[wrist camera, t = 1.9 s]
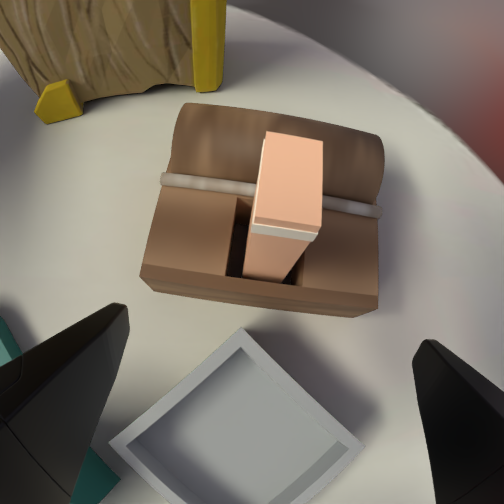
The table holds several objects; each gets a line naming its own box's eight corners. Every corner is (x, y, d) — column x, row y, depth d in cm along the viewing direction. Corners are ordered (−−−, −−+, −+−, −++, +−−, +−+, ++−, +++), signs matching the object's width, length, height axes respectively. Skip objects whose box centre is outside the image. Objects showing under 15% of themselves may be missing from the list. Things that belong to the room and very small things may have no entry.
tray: (348, 436, 18) (365, 446, 16) (235, 531, 15) (237, 552, 13) (238, 331, 20) (241, 326, 18) (122, 432, 17) (108, 442, 14)
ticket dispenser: (352, 317, 21) (401, 299, 15) (154, 291, 21) (124, 262, 14) (353, 171, 25) (385, 121, 19) (189, 145, 25) (182, 85, 18)
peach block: (275, 291, 22) (322, 228, 11) (239, 286, 21) (253, 217, 11) (281, 236, 23) (323, 140, 12) (247, 231, 23) (265, 129, 12)
